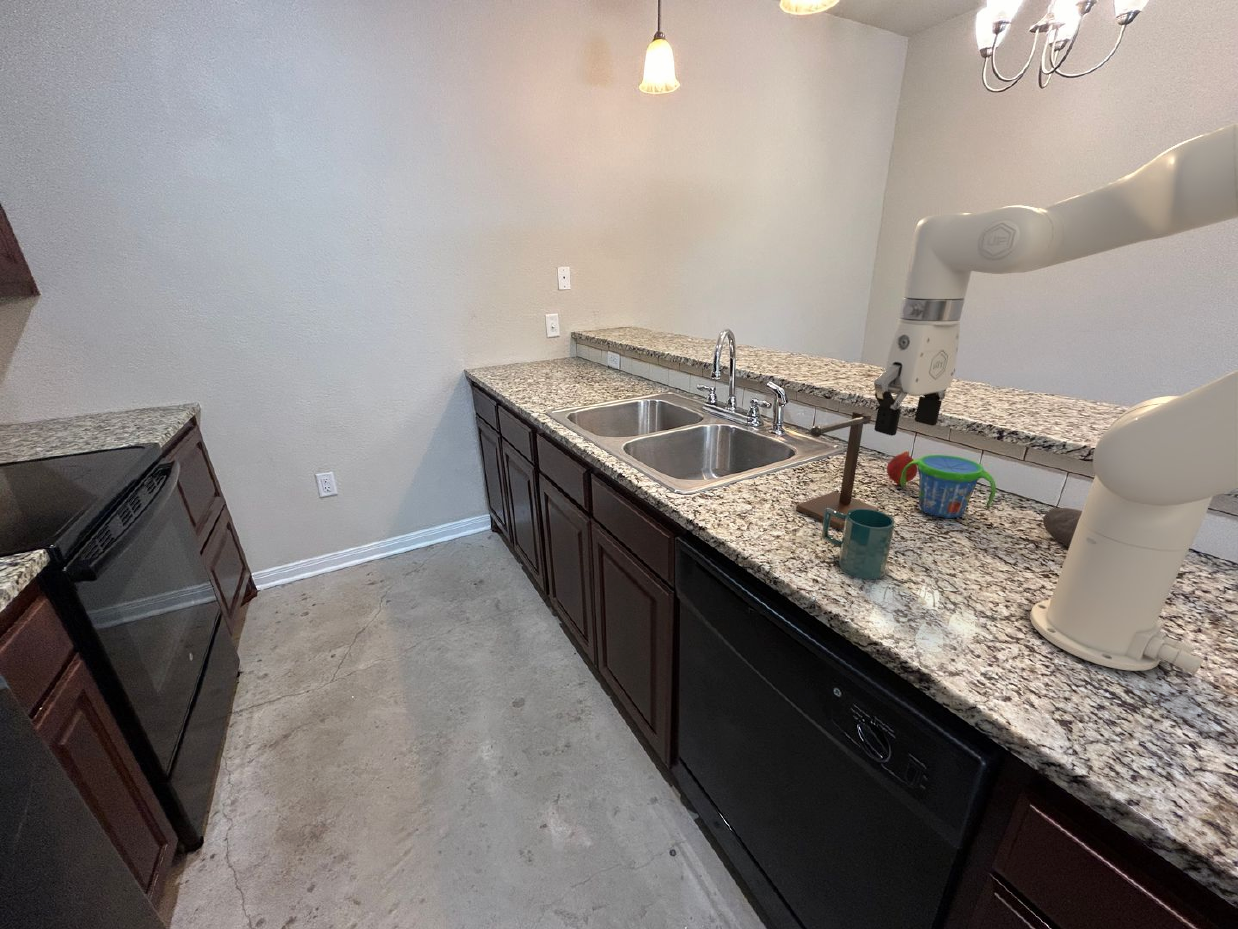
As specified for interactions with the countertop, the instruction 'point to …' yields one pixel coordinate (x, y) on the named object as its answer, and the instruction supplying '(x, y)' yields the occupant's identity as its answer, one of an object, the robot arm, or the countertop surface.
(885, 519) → the mug
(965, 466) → the snack cup
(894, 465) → the onion
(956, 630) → the countertop surface
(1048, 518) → the perforated stone tool
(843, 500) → the mug rack
